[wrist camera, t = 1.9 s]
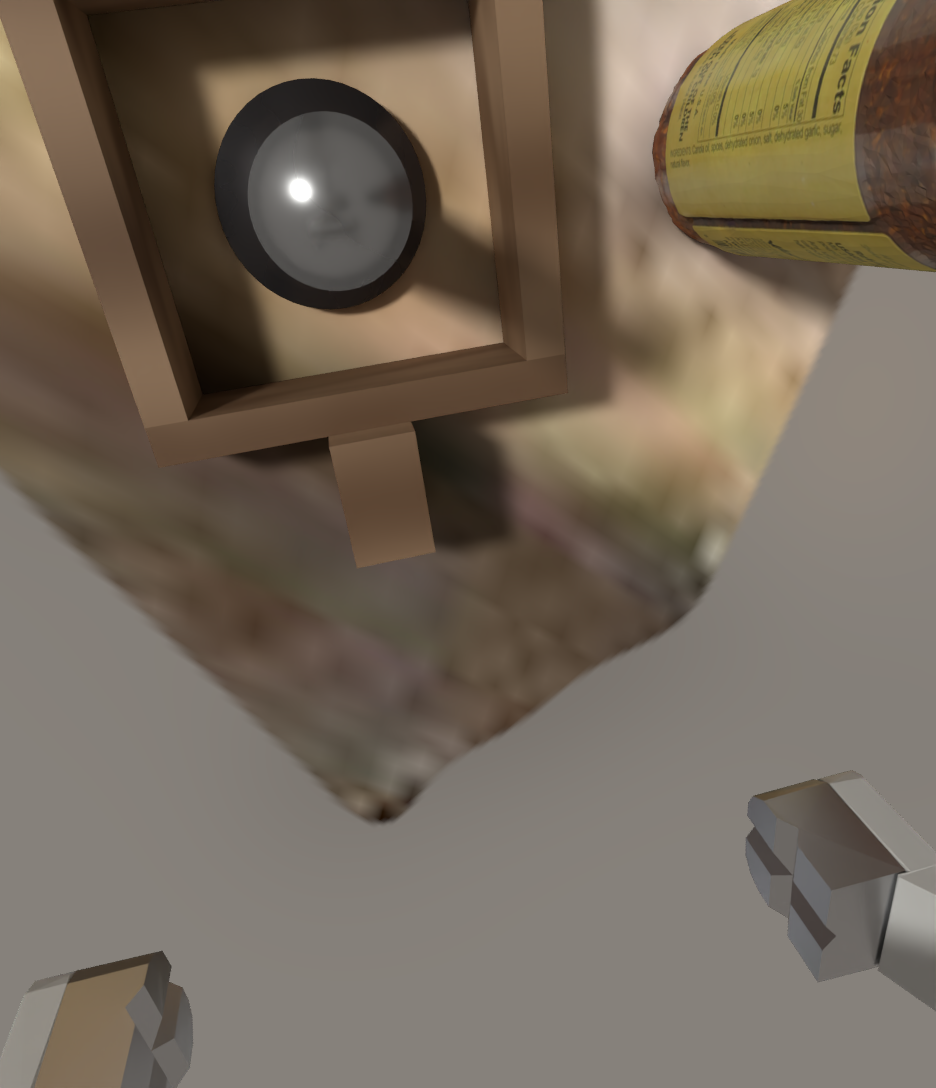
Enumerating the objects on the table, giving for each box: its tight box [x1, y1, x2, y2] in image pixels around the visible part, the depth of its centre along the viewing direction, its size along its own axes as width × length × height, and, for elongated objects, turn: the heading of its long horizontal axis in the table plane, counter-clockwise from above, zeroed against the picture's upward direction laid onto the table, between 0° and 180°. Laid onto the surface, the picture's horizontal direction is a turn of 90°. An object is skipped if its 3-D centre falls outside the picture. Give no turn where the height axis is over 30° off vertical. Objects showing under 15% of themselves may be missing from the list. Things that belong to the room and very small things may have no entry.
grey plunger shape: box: [214, 78, 426, 309], centre depth 16 cm, size 6×6×12 cm
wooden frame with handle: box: [0, 0, 568, 568], centre depth 20 cm, size 16×12×4 cm
